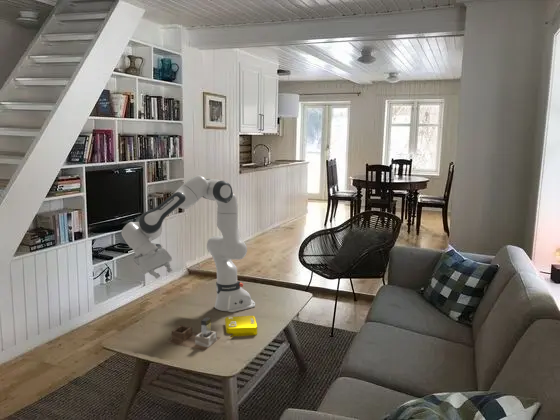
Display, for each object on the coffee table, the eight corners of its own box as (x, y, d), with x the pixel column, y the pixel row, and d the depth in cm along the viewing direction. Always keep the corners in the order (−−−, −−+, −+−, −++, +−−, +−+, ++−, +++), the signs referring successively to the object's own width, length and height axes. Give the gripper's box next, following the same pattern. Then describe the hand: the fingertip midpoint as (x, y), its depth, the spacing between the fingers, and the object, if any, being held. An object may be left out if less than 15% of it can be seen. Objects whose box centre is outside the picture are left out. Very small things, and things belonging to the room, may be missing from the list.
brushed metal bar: (206, 340, 215) (205, 317, 213) (211, 341, 214) (210, 318, 212) (201, 343, 211) (201, 320, 209) (206, 344, 210) (206, 321, 208)
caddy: (184, 333, 225) (184, 322, 224) (220, 340, 218) (220, 329, 217) (166, 345, 212) (166, 334, 211) (204, 353, 205) (204, 341, 204)
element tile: (257, 335, 224) (257, 326, 223) (226, 337, 221) (226, 328, 220) (254, 323, 238) (254, 314, 238) (224, 324, 236) (224, 315, 235)
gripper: (135, 253, 209) (154, 277, 207) (163, 243, 228) (181, 264, 226) (128, 261, 211) (146, 285, 209) (156, 251, 230) (173, 272, 228)
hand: (164, 274), depth 218 cm, fingers open, 8 cm apart
